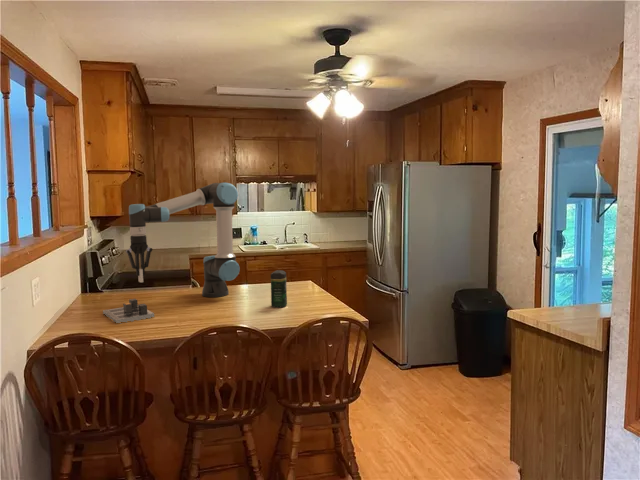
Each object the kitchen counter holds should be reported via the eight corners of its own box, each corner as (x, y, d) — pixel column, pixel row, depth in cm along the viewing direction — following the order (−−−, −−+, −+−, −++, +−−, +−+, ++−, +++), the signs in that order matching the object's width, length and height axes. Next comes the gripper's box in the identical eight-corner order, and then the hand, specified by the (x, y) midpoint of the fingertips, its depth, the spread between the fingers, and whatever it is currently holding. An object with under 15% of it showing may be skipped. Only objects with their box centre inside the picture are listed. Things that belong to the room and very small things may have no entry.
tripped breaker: (123, 311, 254) (123, 303, 254) (129, 310, 256) (129, 302, 256) (126, 313, 251) (125, 304, 251) (132, 311, 253) (131, 303, 253)
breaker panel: (103, 314, 258) (102, 302, 258) (139, 308, 269) (138, 297, 268) (116, 324, 239) (115, 311, 238) (154, 317, 250) (153, 305, 249)
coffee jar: (285, 308, 262) (284, 272, 259) (270, 308, 262) (268, 272, 260) (288, 303, 271) (287, 269, 269) (273, 303, 272) (272, 269, 270)
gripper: (127, 236, 247) (129, 284, 250) (153, 234, 255) (156, 281, 257) (122, 235, 253) (125, 282, 256) (148, 233, 261) (151, 279, 263)
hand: (140, 281), depth 256 cm, fingers closed
